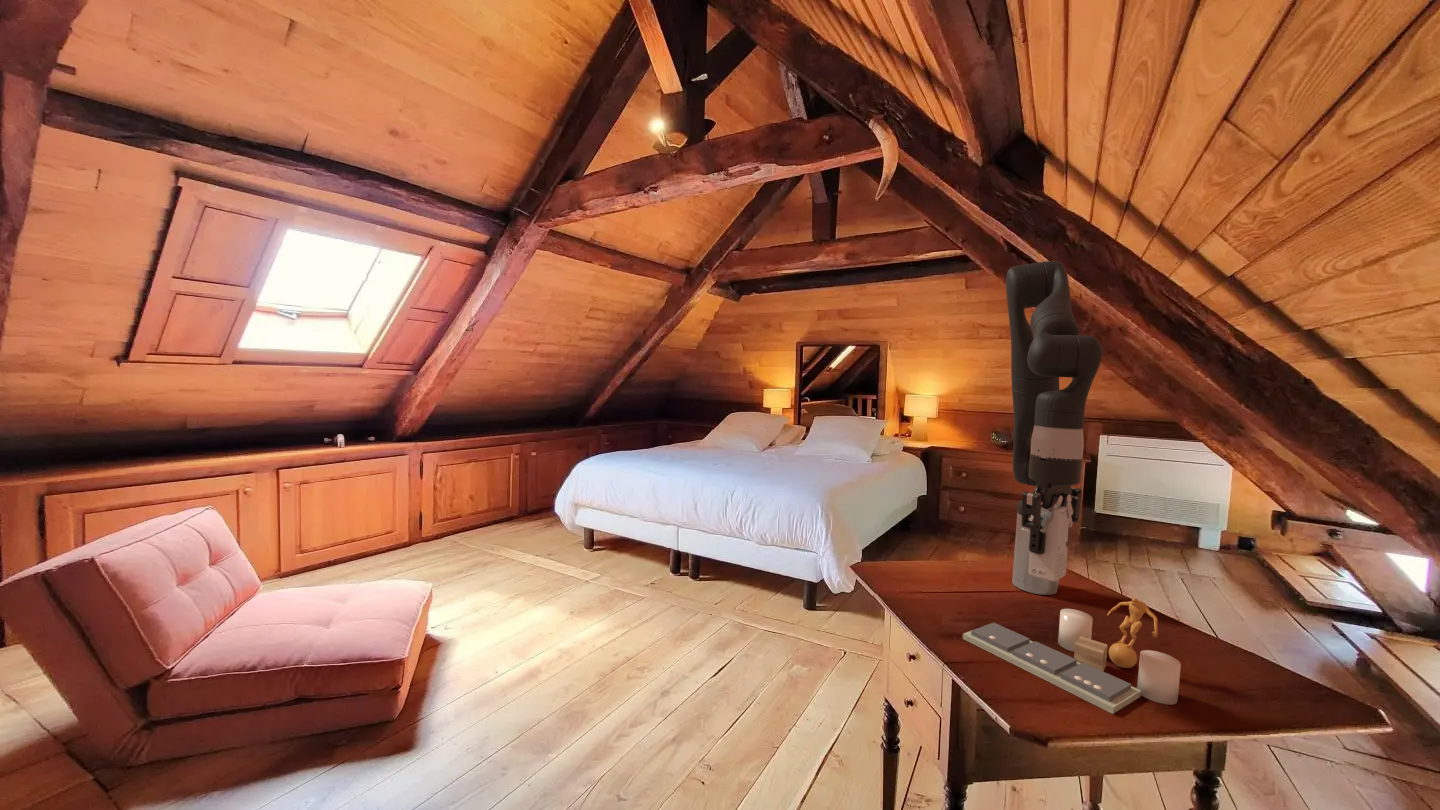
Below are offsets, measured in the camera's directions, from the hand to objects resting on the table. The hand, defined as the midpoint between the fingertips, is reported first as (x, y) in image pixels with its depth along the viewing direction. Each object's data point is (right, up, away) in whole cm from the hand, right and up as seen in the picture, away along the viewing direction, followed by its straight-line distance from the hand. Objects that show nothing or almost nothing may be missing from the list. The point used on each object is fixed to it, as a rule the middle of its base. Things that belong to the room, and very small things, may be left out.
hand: (1048, 550), depth 92 cm
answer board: (0, -20, +1) cm, 20 cm away
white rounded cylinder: (+10, -20, +8) cm, 24 cm away
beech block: (+8, -21, +1) cm, 22 cm away
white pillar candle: (+13, -21, -7) cm, 26 cm away
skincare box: (0, -5, 0) cm, 5 cm away
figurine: (+15, -21, +2) cm, 26 cm away
